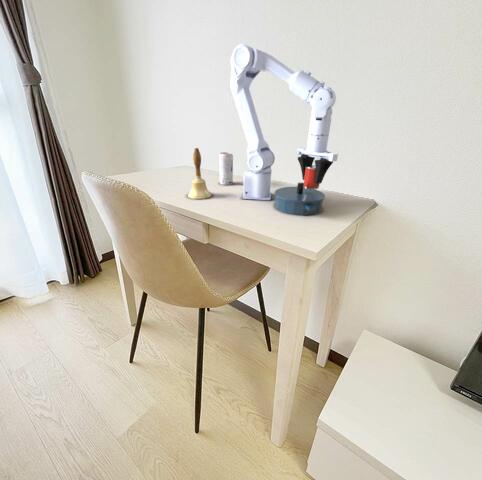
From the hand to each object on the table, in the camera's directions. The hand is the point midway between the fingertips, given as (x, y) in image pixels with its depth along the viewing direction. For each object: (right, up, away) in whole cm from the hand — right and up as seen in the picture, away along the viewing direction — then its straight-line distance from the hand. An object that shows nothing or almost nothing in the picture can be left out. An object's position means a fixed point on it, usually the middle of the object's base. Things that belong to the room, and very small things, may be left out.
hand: (311, 181), depth 81 cm
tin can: (0, -2, +1) cm, 2 cm away
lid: (-4, -4, -1) cm, 6 cm away
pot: (-4, -8, +1) cm, 9 cm away
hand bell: (-37, -3, +10) cm, 38 cm away
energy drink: (-28, +5, +25) cm, 38 cm away
